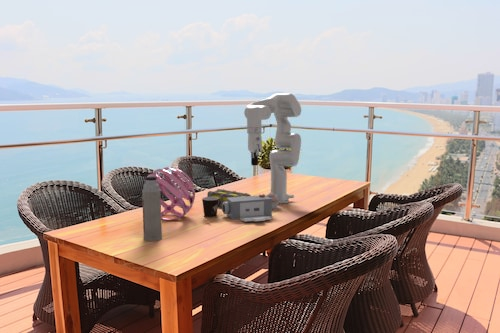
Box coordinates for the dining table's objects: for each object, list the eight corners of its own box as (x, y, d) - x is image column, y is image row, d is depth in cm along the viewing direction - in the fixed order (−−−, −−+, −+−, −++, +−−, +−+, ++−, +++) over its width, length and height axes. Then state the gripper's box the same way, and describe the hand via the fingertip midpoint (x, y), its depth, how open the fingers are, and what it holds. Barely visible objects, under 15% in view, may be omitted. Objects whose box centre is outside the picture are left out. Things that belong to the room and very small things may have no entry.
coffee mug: (206, 219, 241) (205, 201, 240) (199, 216, 249) (199, 197, 248) (226, 217, 247) (226, 198, 245) (219, 213, 254) (219, 195, 253)
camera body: (265, 212, 256) (265, 193, 254) (271, 217, 246) (272, 197, 245) (221, 216, 248) (220, 196, 247) (226, 221, 239) (225, 200, 237)
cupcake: (270, 206, 271) (270, 189, 269) (282, 209, 264) (282, 191, 263) (259, 209, 264) (259, 191, 263) (271, 212, 258) (271, 194, 256)
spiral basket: (139, 189, 221) (179, 153, 234) (122, 193, 245) (159, 160, 258) (177, 232, 229) (213, 195, 241) (157, 232, 252) (191, 198, 265)
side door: (265, 215, 245) (273, 217, 233) (265, 218, 245) (273, 219, 233) (238, 217, 240) (246, 219, 228) (239, 220, 240) (246, 222, 228)
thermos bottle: (142, 241, 206) (140, 178, 201) (145, 236, 213) (142, 175, 209) (160, 241, 206) (159, 178, 202) (162, 235, 214) (161, 175, 210)
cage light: (218, 187, 287) (256, 193, 268) (218, 200, 288) (256, 207, 270) (201, 191, 276) (240, 198, 257) (201, 204, 277) (240, 212, 258)
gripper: (266, 131, 238) (266, 167, 241) (256, 128, 252) (256, 162, 255) (252, 132, 236) (252, 168, 239) (243, 129, 250) (243, 163, 253)
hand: (254, 165), depth 247 cm, fingers closed
